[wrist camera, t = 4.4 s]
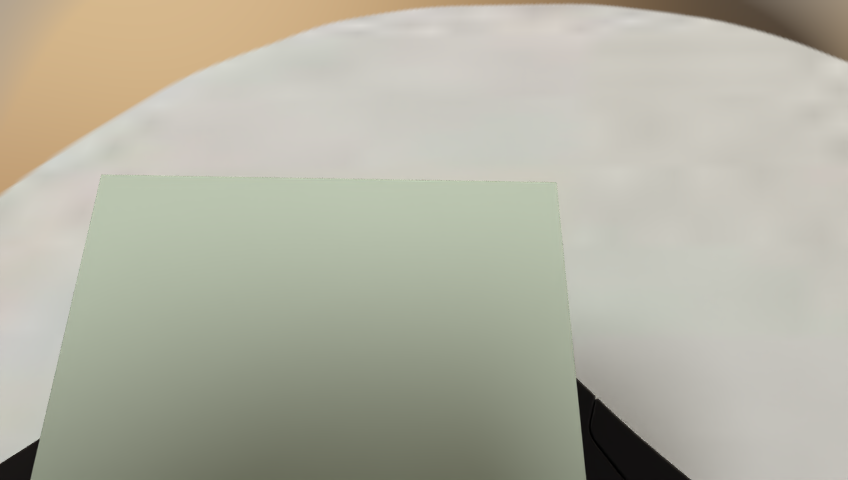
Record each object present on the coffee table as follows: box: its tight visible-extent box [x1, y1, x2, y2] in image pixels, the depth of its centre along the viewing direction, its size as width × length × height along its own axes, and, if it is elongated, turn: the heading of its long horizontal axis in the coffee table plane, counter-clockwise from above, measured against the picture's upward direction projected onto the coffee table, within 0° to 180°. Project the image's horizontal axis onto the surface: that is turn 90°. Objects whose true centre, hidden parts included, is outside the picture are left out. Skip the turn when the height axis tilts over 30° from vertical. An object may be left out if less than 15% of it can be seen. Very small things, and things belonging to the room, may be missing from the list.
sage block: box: [30, 175, 586, 480], centre depth 9 cm, size 5×5×12 cm
